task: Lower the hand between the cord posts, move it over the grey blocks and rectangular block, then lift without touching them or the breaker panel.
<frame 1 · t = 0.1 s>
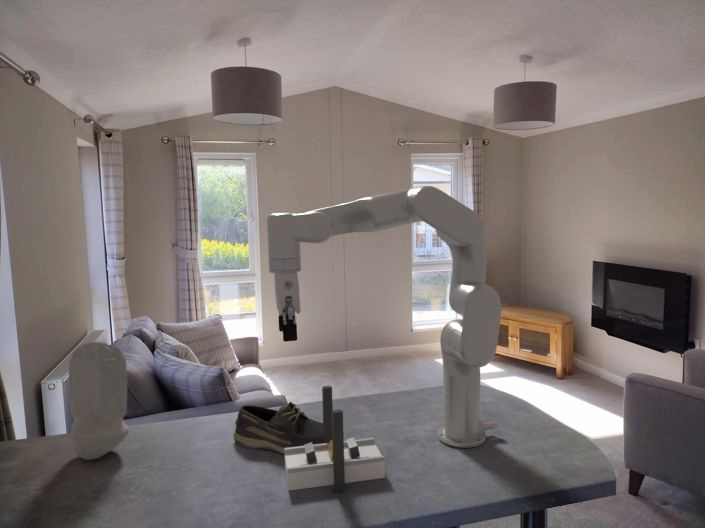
hand: (287, 335, 123), 31 cm above the table, tool pointing down, fingers open, 9 cm apart
grey block 3: (310, 452, 117), point 6 cm above the table, hinge at 12.0°
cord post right: (328, 457, 126), on the table
boat shoe: (285, 446, 133), on the table
sculpture: (102, 456, 130), on the table
cord post left: (339, 490, 112), on the table
rectangular block 2: (334, 449, 119), point 6 cm above the table, hinge at -12.0°
grey block 1: (352, 447, 119), point 6 cm above the table, hinge at 12.0°
breaker panel: (333, 472, 119), on the table
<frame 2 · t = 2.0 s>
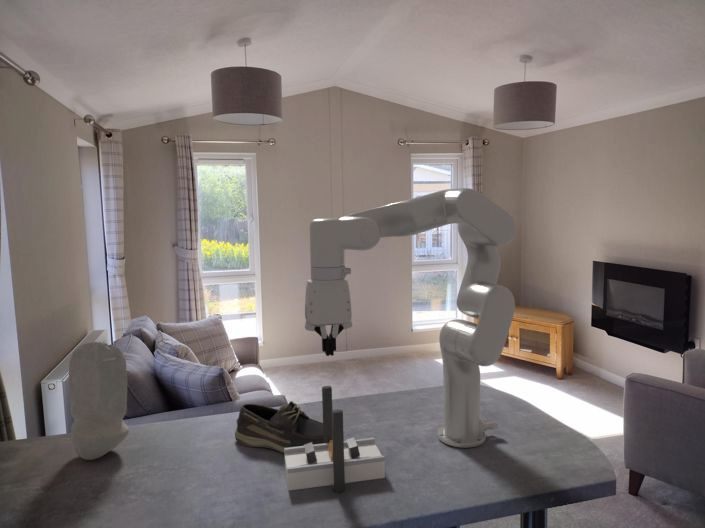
hand: (329, 354, 116), 29 cm above the table, tool pointing down, fingers closed
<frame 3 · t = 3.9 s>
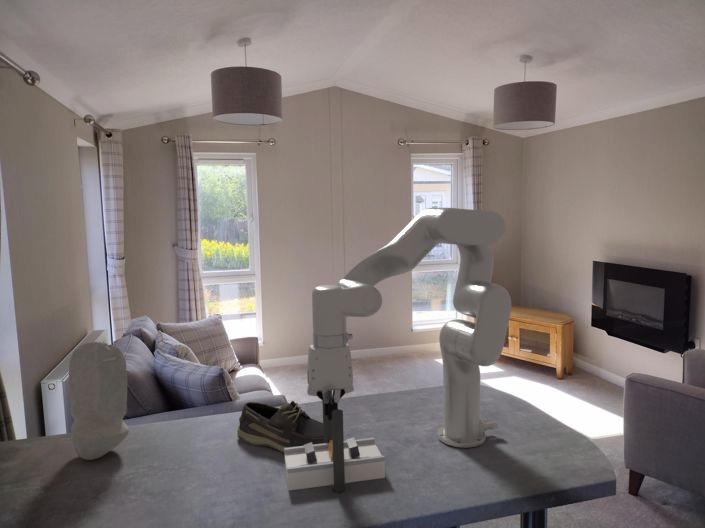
hand: (331, 417, 117), 14 cm above the table, tool pointing down, fingers closed
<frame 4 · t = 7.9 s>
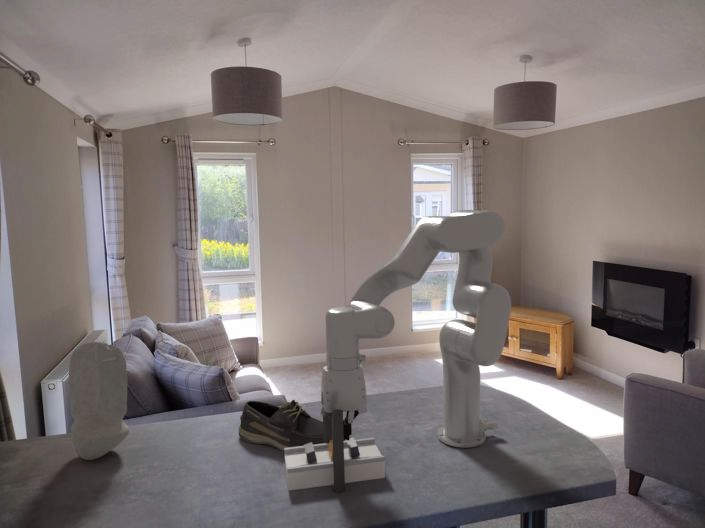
hand: (344, 438, 119), 8 cm above the table, tool pointing down, fingers closed
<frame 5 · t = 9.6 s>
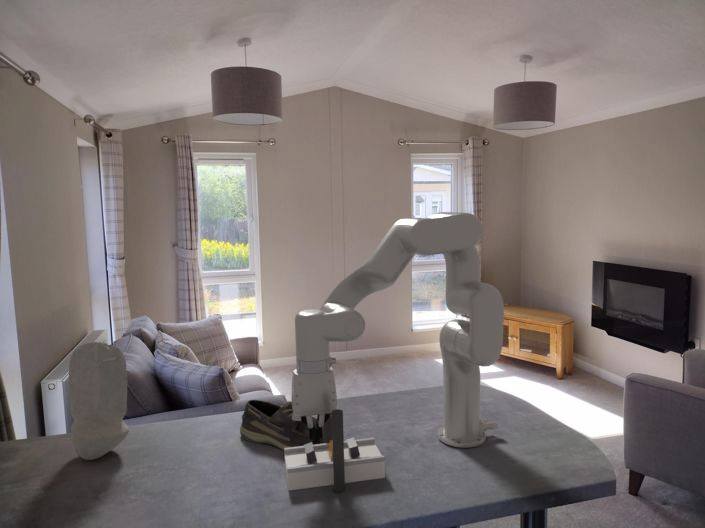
hand: (315, 441, 117), 8 cm above the table, tool pointing down, fingers closed
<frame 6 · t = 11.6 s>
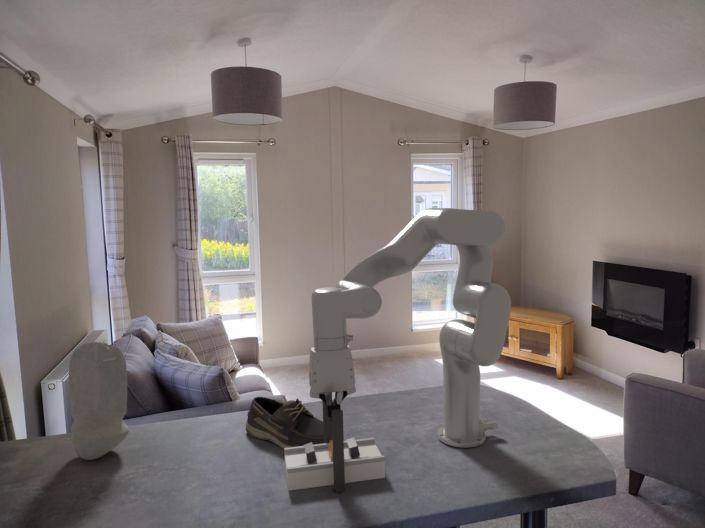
hand: (334, 419, 118), 13 cm above the table, tool pointing down, fingers closed
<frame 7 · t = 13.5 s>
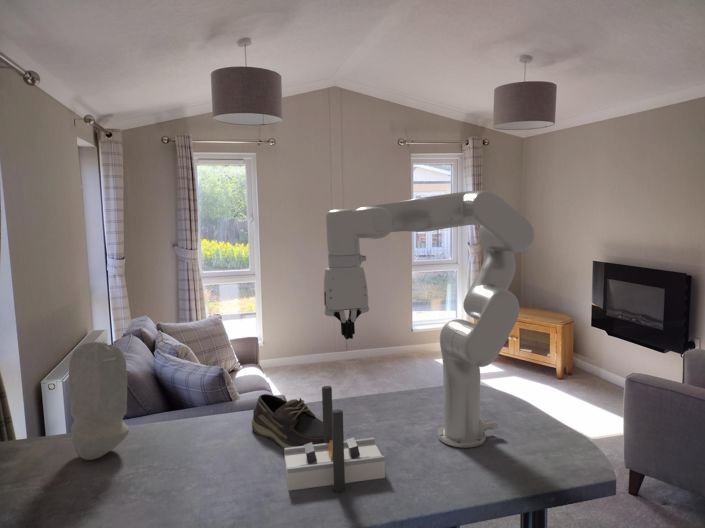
hand: (348, 337, 122), 31 cm above the table, tool pointing down, fingers closed
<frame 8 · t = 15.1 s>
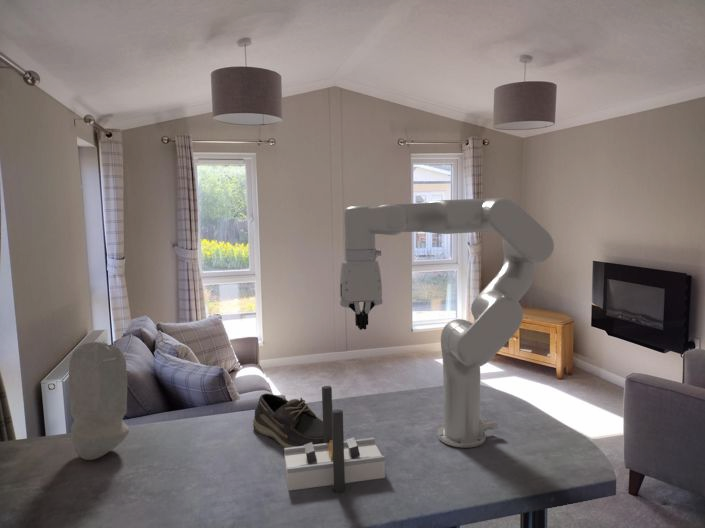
hand: (361, 328, 129), 31 cm above the table, tool pointing down, fingers closed
at the end: cord post left moved 0.0 cm from its start; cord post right moved 0.1 cm from its start; rectangular block 2 at -12° (first picture: -12°) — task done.
